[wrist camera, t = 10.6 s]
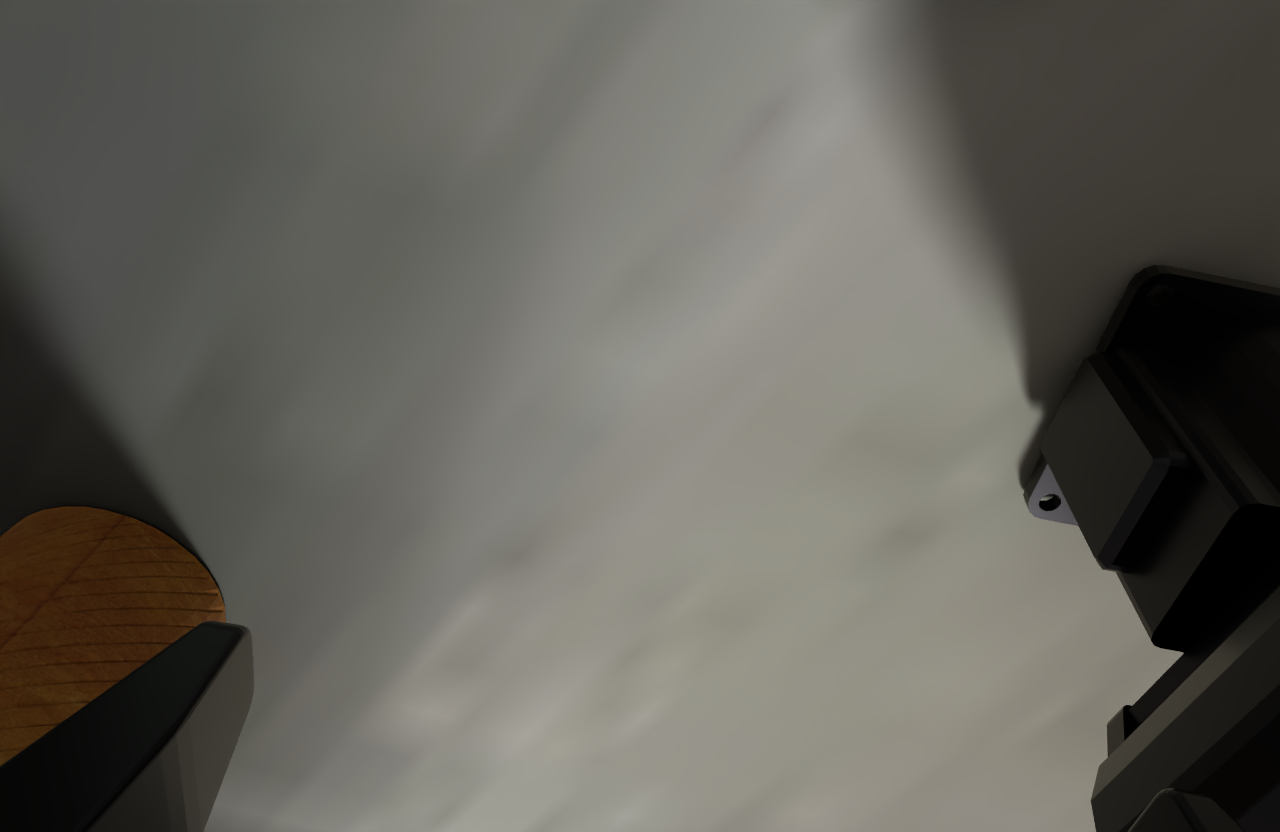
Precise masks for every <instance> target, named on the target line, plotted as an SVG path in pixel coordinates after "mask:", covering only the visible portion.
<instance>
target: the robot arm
mask: <svg viewBox="0 0 1280 832" xmlns="http://www.w3.org/2000/svg"><path fill="white" fill-rule="evenodd" d="M1161 284H1166V286H1165V290H1164V291H1163V292H1162V293H1161V294H1160V295H1159V296H1157V297H1155V298H1147V295H1148V293H1149V291H1150V290H1151V289H1152V288H1153V287H1155V286H1157V285H1161ZM1040 449H1041V451H1042V453H1043V454H1042V456H1041V458H1040V460H1039V462H1038V464H1037V466H1036V468H1035V470H1034V472H1033V474H1032V476H1031V478H1030V480H1029V482H1028V484H1027V486H1026V488H1025V490H1024V494H1023V496H1024V499H1025V502H1026V504H1027V507H1028V509H1029V511H1030V512H1031V513H1032V514H1033V515H1034V516H1035V517H1038V518H1041V519H1045V520H1050V521H1056V522H1061V523H1066V524H1072V525H1077V526H1079V527H1080V529H1081V531H1082V533H1083V535H1084V537H1085V539H1086V541H1087V543H1088V545H1089V547H1090V549H1091V551H1092V553H1093V555H1094V557H1095V559H1096V561H1097V563H1098V564H1099V566H1100V567H1101V568H1102V569H1103V570H1109V571H1114V572H1116V573H1117V575H1118V577H1119V579H1120V581H1121V583H1122V585H1123V587H1124V589H1125V591H1126V593H1127V595H1128V597H1129V598H1130V600H1131V602H1132V604H1133V606H1134V608H1135V610H1136V612H1137V614H1138V616H1139V618H1140V620H1141V622H1142V624H1143V626H1144V627H1145V629H1146V631H1147V633H1148V635H1149V637H1150V639H1151V641H1152V643H1153V644H1154V645H1155V646H1157V647H1159V648H1163V649H1168V650H1174V651H1179V652H1183V653H1184V654H1183V655H1182V656H1181V657H1180V658H1179V659H1178V660H1177V661H1176V662H1175V663H1174V664H1173V665H1172V666H1171V667H1170V668H1169V669H1168V670H1167V671H1166V672H1165V673H1164V674H1163V675H1162V676H1161V677H1160V678H1159V679H1158V680H1157V681H1156V682H1155V684H1154V685H1153V686H1152V687H1151V688H1150V689H1149V690H1148V691H1147V692H1146V693H1145V694H1144V695H1143V696H1142V697H1141V698H1140V699H1139V700H1138V701H1137V702H1136V703H1135V704H1134V705H1133V706H1130V705H1126V706H1124V707H1123V708H1122V709H1121V710H1120V711H1119V712H1118V713H1117V714H1116V715H1115V716H1114V717H1113V718H1112V719H1111V720H1110V721H1109V722H1108V724H1107V743H1108V758H1107V759H1106V760H1105V761H1104V762H1103V763H1102V764H1101V765H1100V766H1099V769H1098V773H1097V777H1096V782H1095V786H1094V790H1093V794H1092V798H1091V804H1092V810H1093V816H1094V821H1095V827H1096V832H1280V289H1277V288H1272V287H1267V286H1263V285H1258V284H1253V283H1248V282H1243V281H1238V280H1233V279H1228V278H1223V277H1218V276H1213V275H1208V274H1203V273H1198V272H1193V271H1188V270H1183V269H1178V268H1173V267H1169V266H1157V265H1154V266H1151V267H1148V268H1145V269H1143V270H1142V271H1140V272H1139V273H1137V274H1136V275H1135V276H1134V278H1133V279H1132V280H1131V282H1130V283H1129V285H1128V287H1127V289H1126V291H1125V293H1124V295H1123V297H1122V299H1121V301H1120V303H1119V305H1118V307H1117V309H1116V311H1115V313H1114V314H1113V316H1112V318H1111V320H1110V322H1109V324H1108V326H1107V328H1106V330H1105V332H1104V334H1103V336H1102V338H1101V340H1100V342H1099V344H1098V346H1097V348H1096V350H1095V351H1094V352H1092V353H1091V354H1090V355H1088V356H1087V357H1086V358H1084V360H1083V361H1082V363H1081V365H1080V367H1079V369H1078V371H1077V373H1076V375H1075V377H1074V379H1073V381H1072V383H1071V385H1070V387H1069V389H1068V391H1067V393H1066V395H1065V397H1064V399H1063V401H1062V403H1061V405H1060V407H1059V409H1058V411H1057V413H1056V415H1055V417H1054V419H1053V421H1052V423H1051V425H1050V427H1049V429H1048V431H1047V433H1046V435H1045V437H1044V439H1043V441H1042V443H1041V445H1040ZM1048 494H1055V495H1054V497H1053V498H1051V499H1049V500H1047V501H1040V499H1041V498H1042V497H1043V496H1046V495H1048ZM253 693H254V666H253V646H252V635H251V632H250V630H249V629H248V628H247V627H244V626H242V625H236V624H231V623H225V622H219V621H205V622H203V623H200V624H199V625H197V626H195V627H194V628H193V629H191V630H190V631H188V632H187V633H186V634H184V635H183V636H182V637H180V638H179V639H177V640H176V641H175V642H173V643H172V644H170V645H169V646H168V647H166V648H165V649H163V650H162V651H161V652H159V653H158V654H156V655H155V656H154V657H152V658H151V659H149V660H148V661H147V662H145V663H144V664H142V665H141V666H140V667H138V668H137V669H135V670H134V671H133V672H131V673H130V674H128V675H127V676H126V677H124V678H123V679H121V680H120V681H119V682H117V683H116V684H114V685H113V686H112V687H110V688H109V689H107V690H106V691H105V692H103V693H102V694H100V695H99V696H98V697H96V698H95V699H93V700H92V701H91V702H89V703H88V704H86V705H85V706H84V707H82V708H81V709H79V710H78V711H77V712H75V713H74V714H72V715H71V716H70V717H68V718H67V719H65V720H64V721H63V722H61V723H60V724H58V725H57V726H56V727H54V728H53V729H51V730H50V731H49V732H47V733H46V734H44V735H43V736H42V737H40V738H39V739H37V740H36V741H35V742H33V743H32V744H30V745H29V746H28V747H26V748H25V749H23V750H22V751H21V752H19V753H18V754H16V755H15V756H14V757H12V758H11V759H9V760H8V761H7V762H5V763H4V764H2V765H1V766H0V832H203V831H204V829H205V826H206V823H207V821H208V818H209V815H210V813H211V810H212V808H213V805H214V802H215V800H216V797H217V794H218V792H219V789H220V786H221V784H222V781H223V778H224V776H225V773H226V770H227V768H228V765H229V762H230V760H231V757H232V754H233V752H234V749H235V746H236V744H237V741H238V738H239V736H240V733H241V730H242V728H243V725H244V722H245V720H246V717H247V714H248V712H249V709H250V706H251V702H252V698H253Z"/></svg>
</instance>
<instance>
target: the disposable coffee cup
mask: <svg viewBox="0 0 1280 832" xmlns="http://www.w3.org/2000/svg"><path fill="white" fill-rule="evenodd" d="M205 621H219V622H225V623H226V618H225V607H224V603H223V600H222V597H221V594H220V592H219V589H218V587H217V586H216V584H215V582H214V581H213V579H212V577H211V576H210V574H209V572H208V571H207V570H206V569H205V568H204V567H203V566H202V564H201V563H200V562H199V561H198V560H197V559H196V558H195V556H193V555H192V554H191V553H190V552H188V551H187V550H186V549H185V548H183V547H182V546H181V545H180V544H178V543H177V542H176V541H175V540H174V539H172V538H170V537H169V536H167V535H166V534H164V533H162V532H161V531H159V530H158V529H156V528H154V527H152V526H150V525H147V524H145V523H143V522H141V521H139V520H137V519H134V518H131V517H128V516H125V515H121V514H118V513H114V512H111V511H108V510H103V509H97V508H91V507H70V506H64V507H57V508H51V509H45V510H42V511H39V512H36V513H34V514H31V515H29V516H26V517H25V518H24V519H22V520H21V521H19V522H18V523H17V524H15V525H14V526H13V527H12V528H10V529H9V530H8V531H7V532H6V533H4V534H3V535H2V536H1V537H0V766H1V765H2V764H4V763H5V762H7V761H8V760H9V759H11V758H12V757H14V756H15V755H16V754H18V753H19V752H21V751H22V750H23V749H25V748H26V747H28V746H29V745H30V744H32V743H33V742H35V741H36V740H37V739H39V738H40V737H42V736H43V735H44V734H46V733H47V732H49V731H50V730H51V729H53V728H54V727H56V726H57V725H58V724H60V723H61V722H63V721H64V720H65V719H67V718H68V717H70V716H71V715H72V714H74V713H75V712H77V711H78V710H79V709H81V708H82V707H84V706H85V705H86V704H88V703H89V702H91V701H92V700H93V699H95V698H96V697H98V696H99V695H100V694H102V693H103V692H105V691H106V690H107V689H109V688H110V687H112V686H113V685H114V684H116V683H117V682H119V681H120V680H121V679H123V678H124V677H126V676H127V675H128V674H130V673H131V672H133V671H134V670H135V669H137V668H138V667H140V666H141V665H142V664H144V663H145V662H147V661H148V660H149V659H151V658H152V657H154V656H155V655H156V654H158V653H159V652H161V651H162V650H163V649H165V648H166V647H168V646H169V645H170V644H172V643H173V642H175V641H176V640H177V639H179V638H180V637H182V636H183V635H184V634H186V633H187V632H188V631H190V630H191V629H193V628H194V627H195V626H197V625H199V624H200V623H203V622H205Z"/></svg>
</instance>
